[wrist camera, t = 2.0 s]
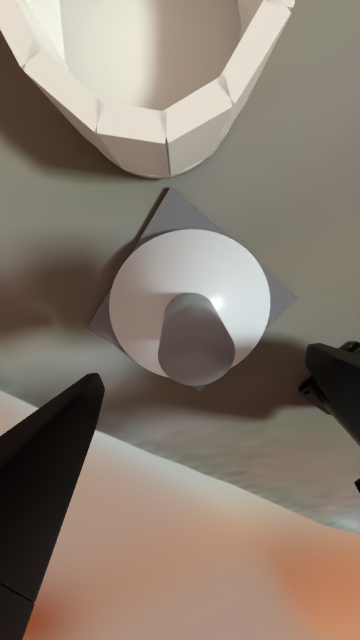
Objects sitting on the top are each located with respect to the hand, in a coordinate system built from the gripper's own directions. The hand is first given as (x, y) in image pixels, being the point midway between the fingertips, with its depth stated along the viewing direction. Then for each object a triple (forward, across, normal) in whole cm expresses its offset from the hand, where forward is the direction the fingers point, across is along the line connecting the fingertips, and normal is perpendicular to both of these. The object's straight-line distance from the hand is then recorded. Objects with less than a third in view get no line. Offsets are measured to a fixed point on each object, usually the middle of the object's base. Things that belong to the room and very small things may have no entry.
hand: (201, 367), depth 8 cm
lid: (+6, 0, 0) cm, 6 cm away
